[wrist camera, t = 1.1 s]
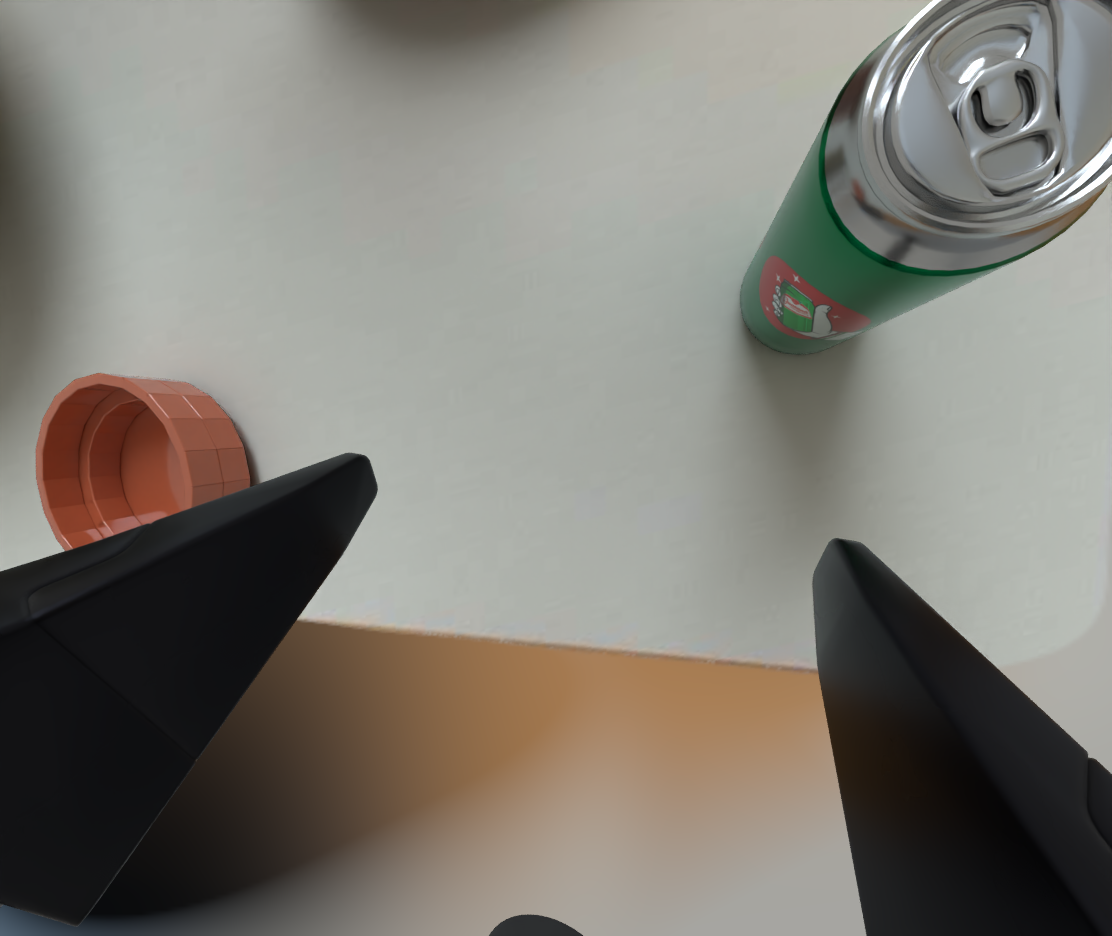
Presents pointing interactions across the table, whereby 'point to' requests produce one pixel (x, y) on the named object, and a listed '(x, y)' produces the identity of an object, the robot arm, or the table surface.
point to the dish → (132, 455)
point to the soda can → (938, 167)
